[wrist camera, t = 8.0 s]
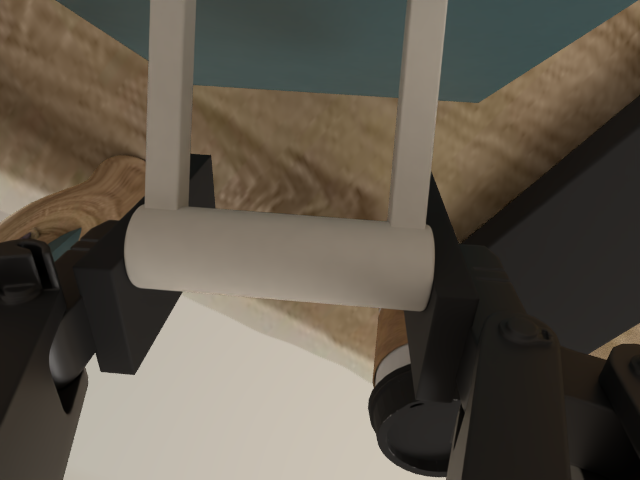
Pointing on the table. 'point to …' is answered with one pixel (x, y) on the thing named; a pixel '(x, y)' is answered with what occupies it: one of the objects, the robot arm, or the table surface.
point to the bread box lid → (319, 77)
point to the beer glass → (80, 206)
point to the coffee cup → (407, 406)
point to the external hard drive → (578, 238)
